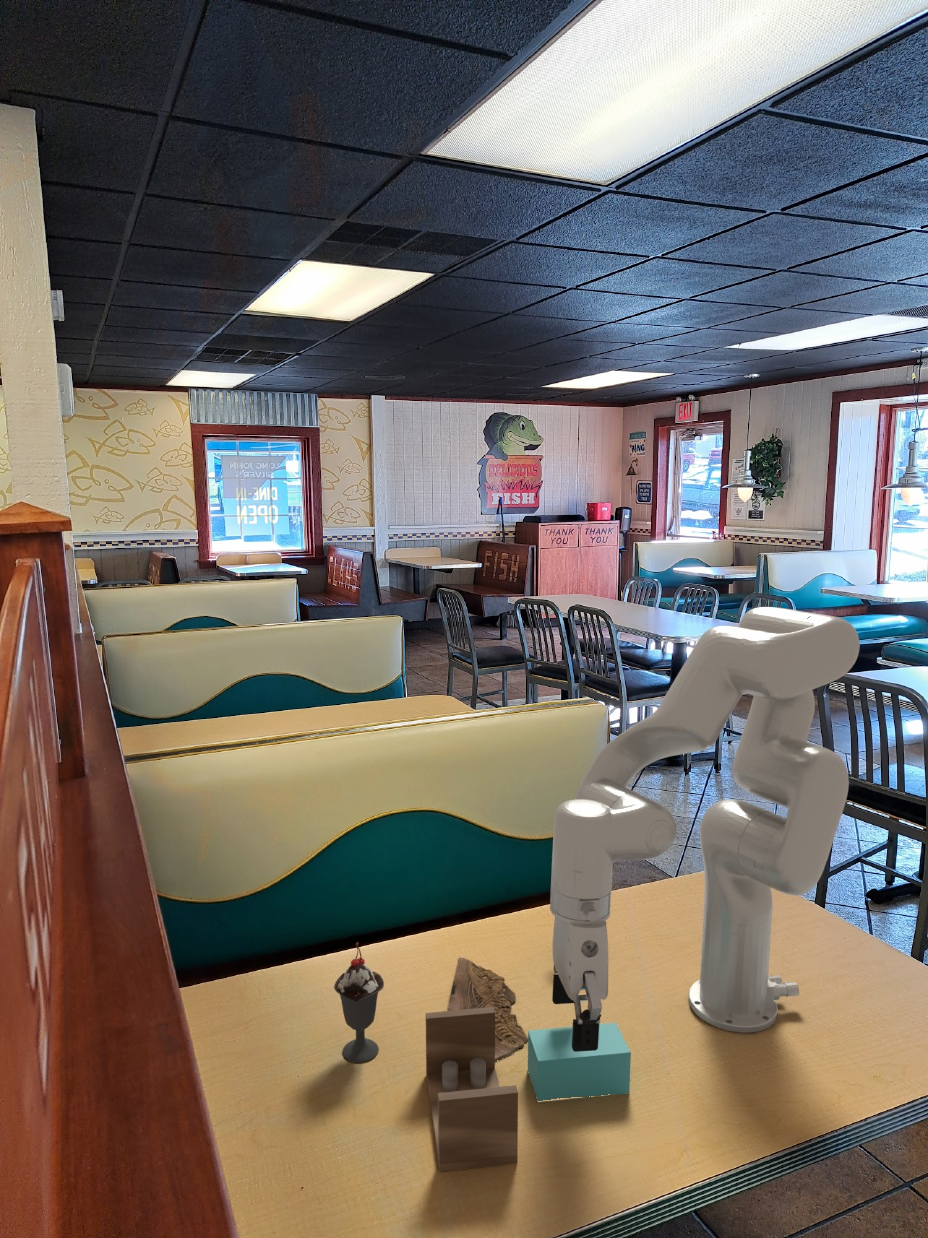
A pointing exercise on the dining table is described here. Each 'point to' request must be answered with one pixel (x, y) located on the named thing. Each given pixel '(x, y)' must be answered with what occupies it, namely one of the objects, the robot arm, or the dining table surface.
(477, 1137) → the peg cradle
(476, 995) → the wooden fragment
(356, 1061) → the sundae
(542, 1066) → the turquoise block
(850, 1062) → the dining table surface
